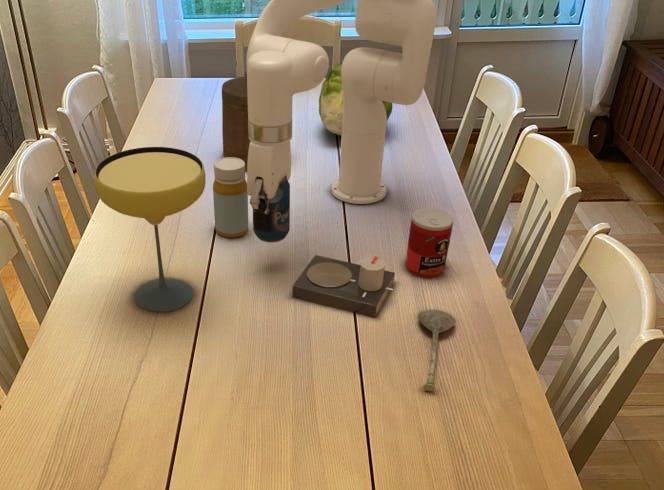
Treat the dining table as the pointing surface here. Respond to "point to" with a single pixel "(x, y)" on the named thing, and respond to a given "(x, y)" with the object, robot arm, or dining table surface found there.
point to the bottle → (230, 197)
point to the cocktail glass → (153, 205)
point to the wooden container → (235, 119)
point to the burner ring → (329, 275)
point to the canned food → (428, 241)
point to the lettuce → (336, 102)
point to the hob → (343, 290)
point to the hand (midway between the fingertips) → (271, 220)
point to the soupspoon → (435, 335)
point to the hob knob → (371, 274)
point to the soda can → (277, 214)
